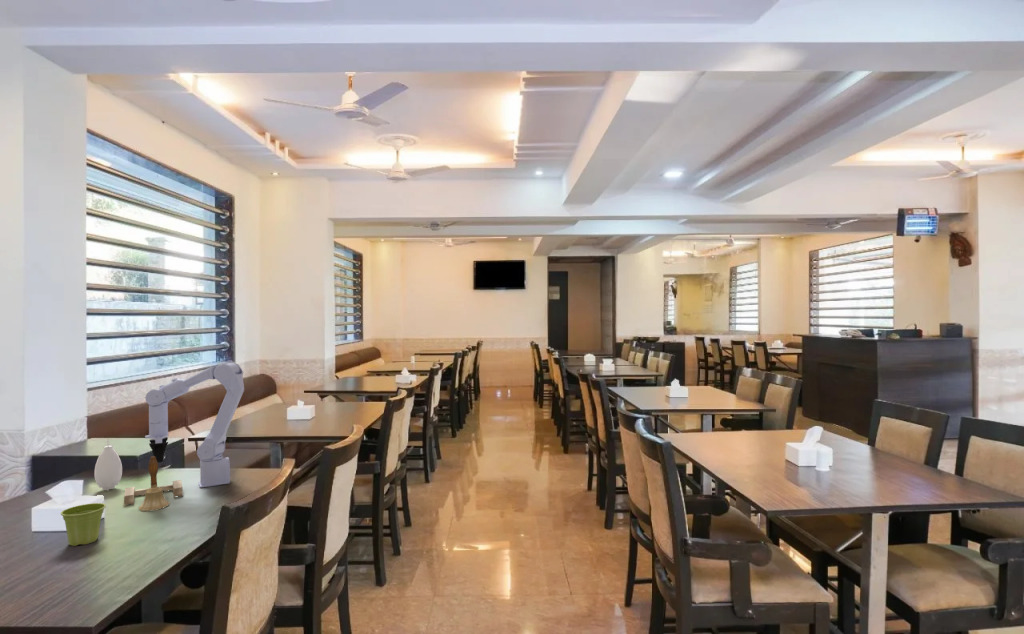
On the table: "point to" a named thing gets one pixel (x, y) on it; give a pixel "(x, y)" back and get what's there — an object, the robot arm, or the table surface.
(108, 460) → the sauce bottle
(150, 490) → the hand bell
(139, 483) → the table surface
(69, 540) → the plant pot
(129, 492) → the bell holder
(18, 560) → the table surface
